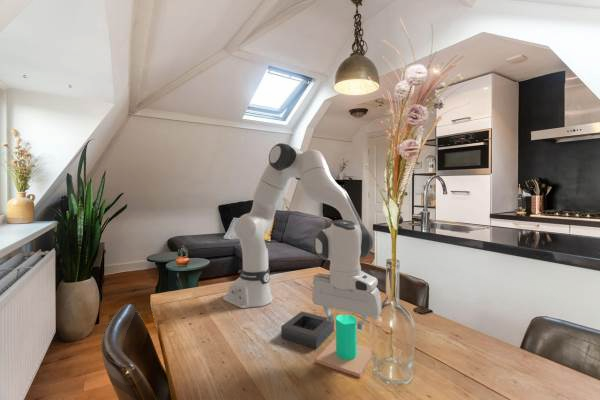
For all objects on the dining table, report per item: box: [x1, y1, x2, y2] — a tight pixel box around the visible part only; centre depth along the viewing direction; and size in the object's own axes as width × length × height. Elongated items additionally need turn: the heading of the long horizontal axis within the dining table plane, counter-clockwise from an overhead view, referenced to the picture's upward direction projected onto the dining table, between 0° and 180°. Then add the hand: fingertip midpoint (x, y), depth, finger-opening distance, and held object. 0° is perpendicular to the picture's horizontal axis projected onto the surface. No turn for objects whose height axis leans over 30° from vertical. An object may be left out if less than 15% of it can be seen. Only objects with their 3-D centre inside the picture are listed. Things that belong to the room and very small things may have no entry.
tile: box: [315, 337, 373, 378], centre depth 84 cm, size 13×13×1 cm
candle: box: [335, 314, 358, 360], centre depth 84 cm, size 6×6×12 cm
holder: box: [280, 311, 335, 350], centre depth 98 cm, size 13×13×4 cm
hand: (345, 324), depth 84 cm, fingers open, 8 cm apart
